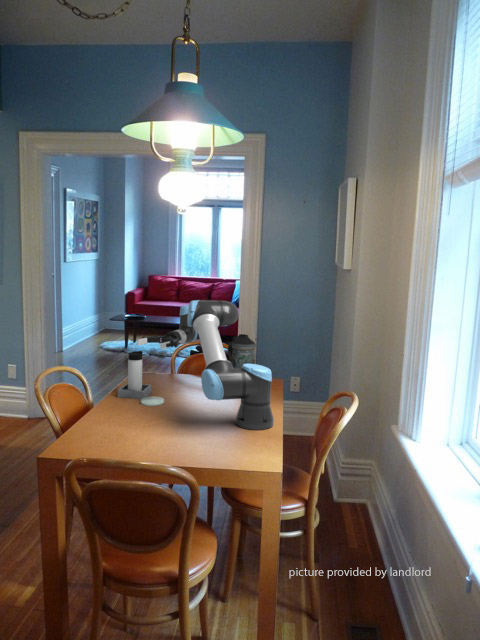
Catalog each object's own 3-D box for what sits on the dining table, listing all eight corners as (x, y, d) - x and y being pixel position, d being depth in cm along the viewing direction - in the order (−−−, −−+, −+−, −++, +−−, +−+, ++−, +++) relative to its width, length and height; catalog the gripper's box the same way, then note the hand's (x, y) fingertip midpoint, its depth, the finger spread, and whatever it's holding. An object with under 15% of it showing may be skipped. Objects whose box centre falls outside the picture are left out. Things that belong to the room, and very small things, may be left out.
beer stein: (250, 389, 246) (252, 339, 242) (215, 383, 254) (217, 335, 250) (263, 382, 261) (265, 335, 257) (229, 377, 269) (231, 330, 265)
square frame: (143, 399, 223) (143, 391, 222) (117, 397, 224) (117, 389, 224) (151, 392, 235) (152, 384, 234) (127, 390, 236) (127, 382, 236)
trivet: (160, 406, 214) (160, 404, 214) (137, 404, 215) (137, 402, 215) (166, 400, 224) (166, 397, 223) (145, 398, 225) (145, 395, 225)
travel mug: (145, 394, 230) (145, 352, 227) (133, 397, 225) (133, 353, 222) (137, 391, 234) (137, 349, 231) (125, 394, 229) (125, 351, 226)
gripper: (196, 348, 249) (170, 356, 230) (155, 342, 260) (128, 348, 241) (196, 333, 247) (171, 340, 229) (155, 327, 259) (128, 333, 240)
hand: (149, 344), depth 235 cm, fingers open, 13 cm apart
